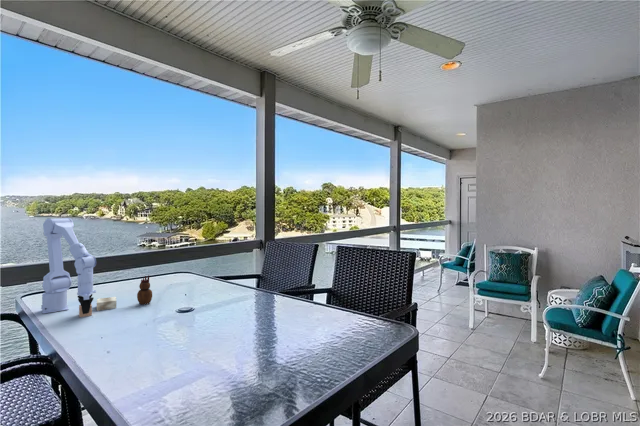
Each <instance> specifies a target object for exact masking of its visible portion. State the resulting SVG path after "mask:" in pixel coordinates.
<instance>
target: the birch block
mask: <svg viewBox="0 0 640 426" xmlns="http://www.w3.org/2000/svg"><path fill="white" fill-rule="evenodd" d="M113 309H117V296H111V297H103V298H102V297H101V298H97V299H96V311H104V310H113Z"/></svg>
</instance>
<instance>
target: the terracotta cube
mask: <svg viewBox="0 0 640 426" xmlns="http://www.w3.org/2000/svg"><path fill="white" fill-rule="evenodd" d="M92 307H93V305H92V304H91V305H90V310H89V313H86V314H83V312H82V307H81V304H78V317H79V318H84V317H85V318H86V317H89V316H90V317H91V316H92V315H93V308H92Z"/></svg>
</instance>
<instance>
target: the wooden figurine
mask: <svg viewBox="0 0 640 426" xmlns="http://www.w3.org/2000/svg"><path fill="white" fill-rule="evenodd" d="M138 287H139V290H138V291H137V294H136V297H137V302H138V304H139V305H142V306H143V305H145V306H146V305H150V303H151V302H152V299H153V290H151V289H150V288H151V283H150V274H147V275H145V276H144V277H143V278H142V279H141V280H140V283H139V286H138Z"/></svg>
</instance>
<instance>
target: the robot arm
mask: <svg viewBox="0 0 640 426" xmlns="http://www.w3.org/2000/svg"><path fill="white" fill-rule="evenodd" d="M74 226H75V224H74V221H73V219H72V218H71V217H63V218H62V217H60V218H55V217H54V218H46V219H45V221H43V223H42V227H43V228H42V229H43V235H44V237H46V247H47V256H48V264H49V265H48V266H49V272H48V273H46V275H44V276H43V282H42V290H43V291H44V292H43V293H42V294H41V295H42V297H41V301H42V302H41V303H42V304H41V308H40V309H41V310H42V312H41V313H42V314H47V313H48V314H50V313H55V312H56V313H57V312H62V311H63V312H64V311H68V310H69V305H68V291H69V289H70V288H71V286H72V284H73V280H72V278H71V275H70V272H68V271H66V270H65V269H64V258H63V249H62V248H63V247H62V240H61V239H62V237H63V238H64V240H65V241H66V242H67V244H68V245H69V248H68V251H69V252H70V254H71V255H72V258H73V260H74V265H73V266H74V267H75V272H76V274H77V292H76V295H77V298H78V299H77V300H78V302H79V305H81V307H82V312H83V314H86V313H89V310H90V305H92V302H93V301H94V297H93V294H95V293H97V290H94V268H95V267H96V266H97V259H96V257H95V255H92V254H91V253H89V251H88V250H87V248H86V246H85V245H84V244H83V243H81V242H79V240H78V237H77V236H76V234H75V231H74V229H75V227H74Z"/></svg>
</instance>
